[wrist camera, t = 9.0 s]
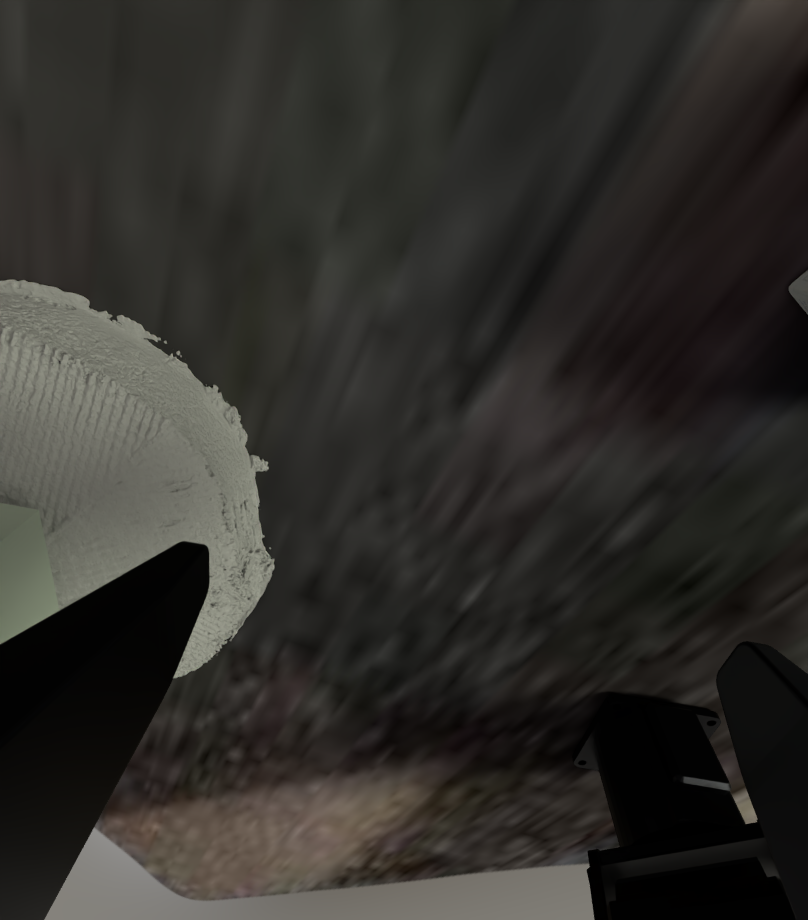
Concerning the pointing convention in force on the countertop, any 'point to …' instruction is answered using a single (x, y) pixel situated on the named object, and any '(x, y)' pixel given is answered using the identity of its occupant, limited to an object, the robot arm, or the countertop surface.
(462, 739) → the countertop surface
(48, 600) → the crate
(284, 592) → the countertop surface
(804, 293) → the light bulb box
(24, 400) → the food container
